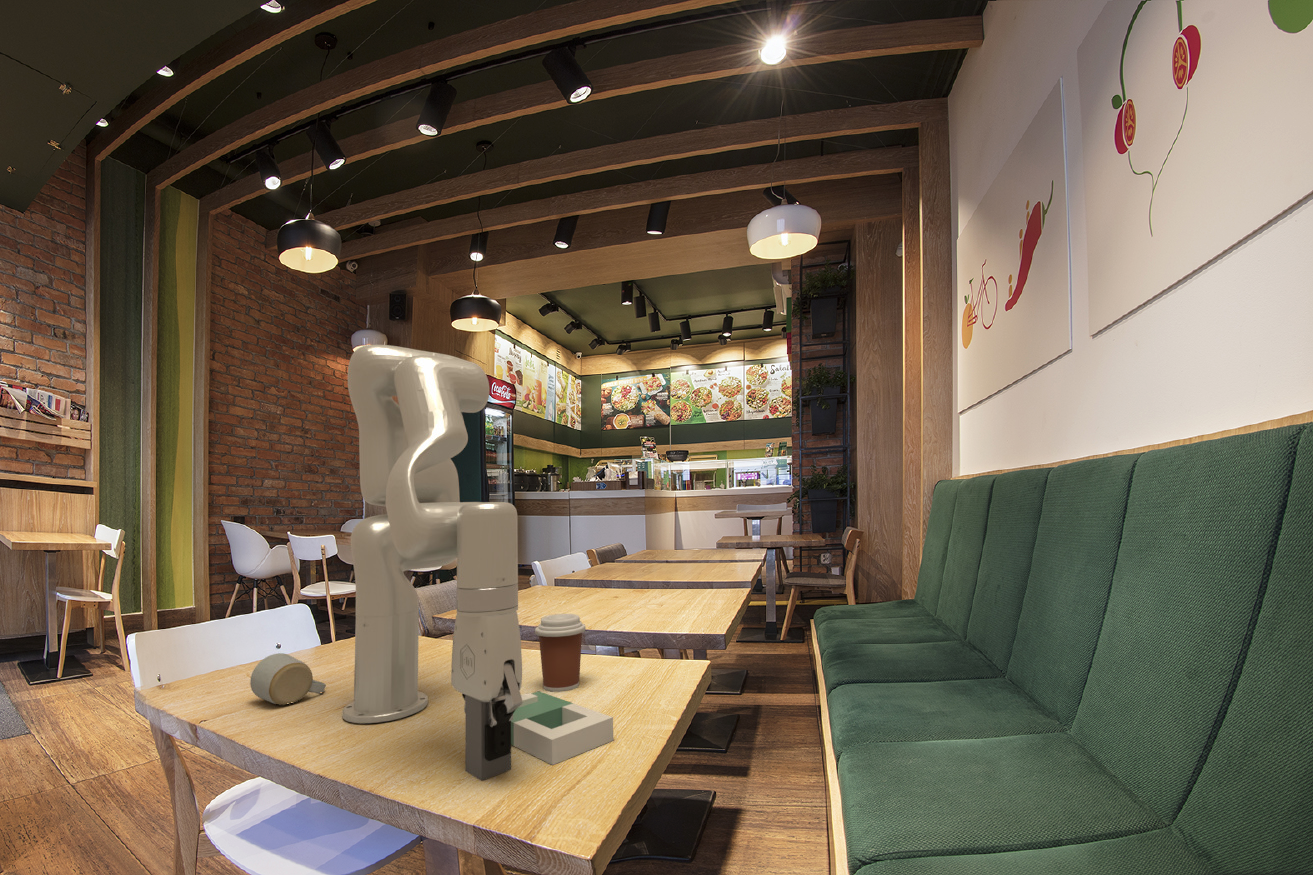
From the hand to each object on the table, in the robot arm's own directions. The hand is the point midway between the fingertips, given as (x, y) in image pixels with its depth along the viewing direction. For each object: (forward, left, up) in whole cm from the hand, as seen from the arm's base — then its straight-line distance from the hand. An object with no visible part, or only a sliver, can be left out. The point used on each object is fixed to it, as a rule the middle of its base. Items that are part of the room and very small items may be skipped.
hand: (488, 749), depth 72 cm
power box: (-4, +11, -2) cm, 12 cm away
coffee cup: (-21, +26, -3) cm, 34 cm away
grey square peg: (0, 0, -2) cm, 2 cm away
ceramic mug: (-53, -9, -3) cm, 54 cm away
